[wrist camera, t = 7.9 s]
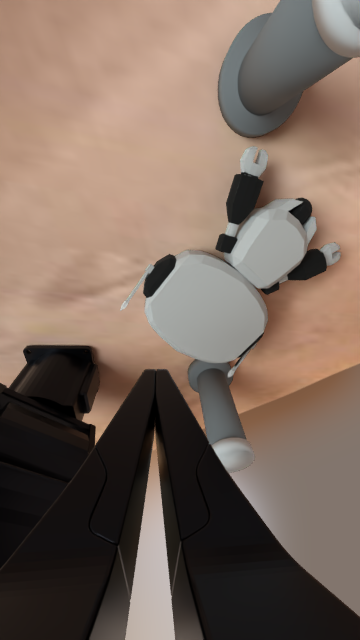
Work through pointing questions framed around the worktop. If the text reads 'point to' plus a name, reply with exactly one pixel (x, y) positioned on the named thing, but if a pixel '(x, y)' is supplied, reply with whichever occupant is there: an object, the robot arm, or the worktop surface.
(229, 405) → the tube
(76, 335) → the worktop surface
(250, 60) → the tube
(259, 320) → the robot toy
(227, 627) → the robot arm
